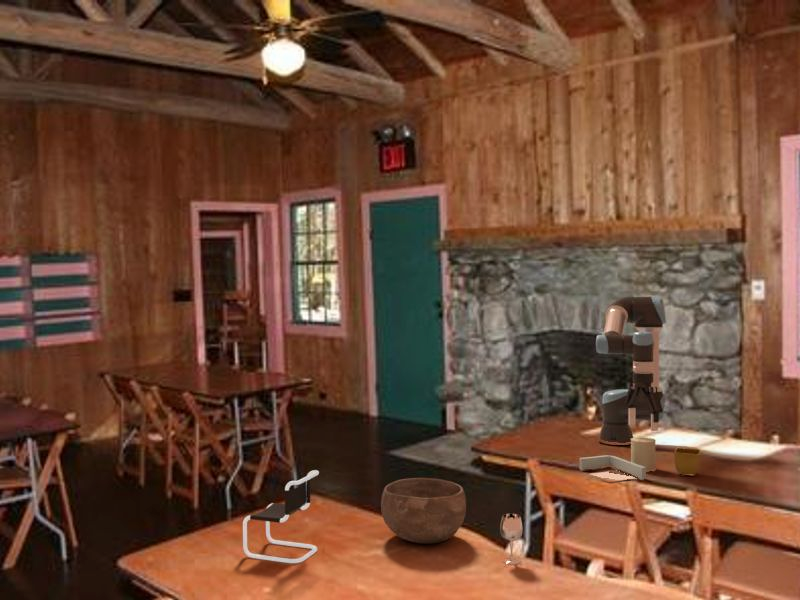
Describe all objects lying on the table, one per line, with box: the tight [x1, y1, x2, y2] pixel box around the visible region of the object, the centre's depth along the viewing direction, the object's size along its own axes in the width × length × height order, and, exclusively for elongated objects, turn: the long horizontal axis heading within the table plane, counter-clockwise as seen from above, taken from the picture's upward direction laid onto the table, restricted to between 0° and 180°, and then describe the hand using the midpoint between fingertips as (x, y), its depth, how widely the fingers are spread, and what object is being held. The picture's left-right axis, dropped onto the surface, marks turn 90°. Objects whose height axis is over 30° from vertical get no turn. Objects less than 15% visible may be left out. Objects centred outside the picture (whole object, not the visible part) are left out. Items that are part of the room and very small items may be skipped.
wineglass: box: [500, 513, 524, 565], centre depth 208 cm, size 6×6×12 cm
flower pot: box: [673, 447, 702, 475], centre depth 296 cm, size 9×9×9 cm
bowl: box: [380, 477, 467, 544], centre depth 227 cm, size 24×24×15 cm
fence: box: [578, 454, 647, 481], centre depth 297 cm, size 14×22×4 cm, turn 20°
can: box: [630, 436, 656, 470], centre depth 304 cm, size 9×9×12 cm
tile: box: [588, 471, 637, 480], centre depth 293 cm, size 12×12×1 cm
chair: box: [242, 469, 320, 564], centre depth 216 cm, size 13×17×22 cm
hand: (643, 427), depth 304 cm, fingers open, 13 cm apart
